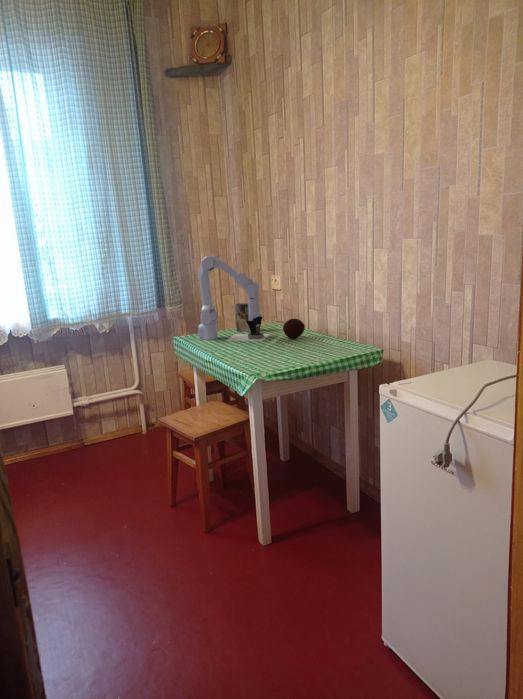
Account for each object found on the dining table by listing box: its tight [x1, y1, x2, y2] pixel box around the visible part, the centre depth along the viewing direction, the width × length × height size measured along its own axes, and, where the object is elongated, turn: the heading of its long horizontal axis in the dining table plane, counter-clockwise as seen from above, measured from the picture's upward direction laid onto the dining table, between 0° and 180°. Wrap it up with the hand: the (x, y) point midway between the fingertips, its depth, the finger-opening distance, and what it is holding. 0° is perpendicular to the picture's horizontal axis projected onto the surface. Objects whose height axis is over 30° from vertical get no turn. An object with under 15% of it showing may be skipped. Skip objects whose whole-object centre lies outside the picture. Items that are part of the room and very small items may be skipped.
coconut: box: [282, 318, 306, 340], centre depth 261 cm, size 11×13×10 cm
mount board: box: [224, 332, 271, 342], centre depth 267 cm, size 20×16×3 cm
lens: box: [251, 324, 261, 335], centre depth 264 cm, size 5×5×7 cm
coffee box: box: [234, 302, 251, 333], centre depth 284 cm, size 9×6×16 cm
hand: (255, 332), depth 264 cm, fingers open, 7 cm apart
